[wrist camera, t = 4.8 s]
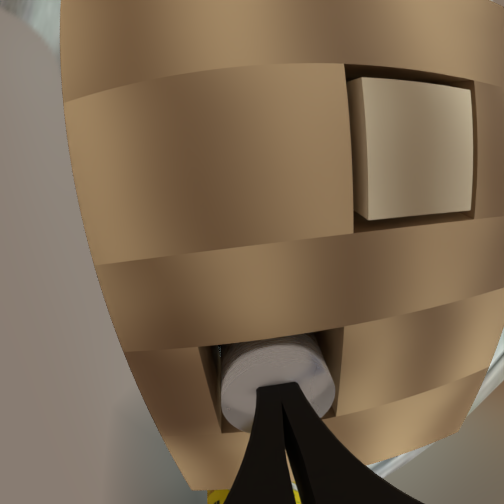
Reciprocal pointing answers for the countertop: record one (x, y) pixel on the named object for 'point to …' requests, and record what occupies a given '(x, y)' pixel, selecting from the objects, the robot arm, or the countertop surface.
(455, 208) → the peg maple
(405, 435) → the oak block
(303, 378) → the peg steel
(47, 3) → the countertop surface
